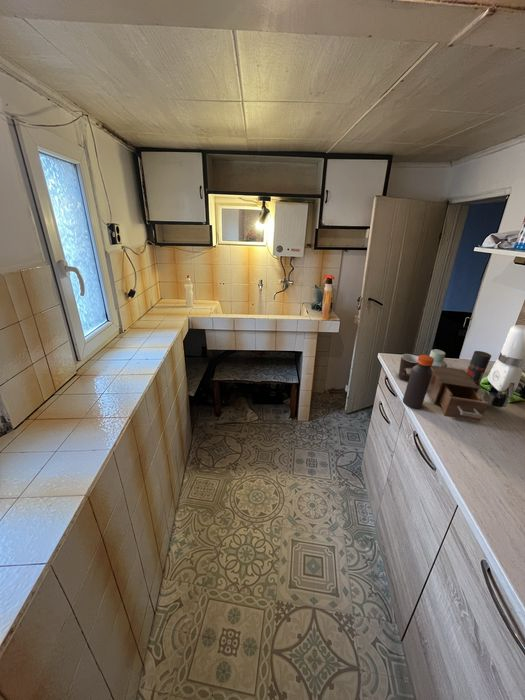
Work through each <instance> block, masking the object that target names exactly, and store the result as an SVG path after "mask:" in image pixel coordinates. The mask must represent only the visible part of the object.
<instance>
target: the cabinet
mask: <svg viewBox="0 0 525 700" xmlns="http://www.w3.org/2000/svg"><path fill="white" fill-rule="evenodd" d="M430 368H431V370H432V371H433V374H432V377H431V380H430V383H429V386H428V389H427V392H428V395H429V397H430V399H431V400H432V402H433V404H434V405H440V406H441V404H440V403H439V401H438V398H439V396H440V393H441V390H442V387H443V385H449V386H456V387H462V388H469V389H474V390H475V391H476V393H477V394H479V390H480V387H479V386H477V385H476V383H475V382H474V381H473V380H472V379H471V378H470V376H469V375H468V374H467V373H466V372H467V371H466V370H465V369H460V368H454V367H447V368H446V367H439V366H431V367H430Z"/></svg>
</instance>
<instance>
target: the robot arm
mask: <svg viewBox="0 0 525 700" xmlns="http://www.w3.org/2000/svg"><path fill="white" fill-rule="evenodd" d="M524 368H525V324H514V325H512V326H511V327H510V328H509V331H508V333H507V336H506V338H505V341H504V342H503V346H502V348H501V351H500V353H499V355H498V358H496V361H494V364H493V365H492V367H491V368H490V371H489V373H488V376H487V381H488V382H489V384H490V385H489V388H488V389H489V390H488V392H496V393H498V395H497V397H495V399H494V401H493V404H492V405H491V406H492V407H496V408H504V407H503V405H504V403H505V400H506V399H513V398H514V393H515V392H516V391H517V388H518V386H519V383H520V382H521V378H522V375H523V371H524ZM502 393H503V394H502Z"/></svg>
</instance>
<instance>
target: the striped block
mask: <svg viewBox="0 0 525 700" xmlns="http://www.w3.org/2000/svg"><path fill="white" fill-rule="evenodd" d="M502 394H504V392H502ZM497 395H498V393H496V392H489V391H488V390H487V391H485V392H484V395H483V397H482V401H485V402H487V403H488V405H487V406H493V405H492V404H493V401H494V399H495V397H497ZM509 400H510V398H508V399H506V400H505V403H504V405H503V407H502V408H506V407H507V405H508V403H509Z"/></svg>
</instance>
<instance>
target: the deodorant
mask: <svg viewBox="0 0 525 700" xmlns="http://www.w3.org/2000/svg"><path fill="white" fill-rule="evenodd" d="M491 358H492V355H491V354H490V353H488V352H485V351H481V350H474V351H473V354H472V357H471V359H470V362H469V364H468V367H467V370H466V371H465V372H466V373H467V374H468V375H469V376H470V378H471V379H472V380H473V381H474V382H475V383H476V385H477V386H478V387H479V386H480V384H481V382H482V379H483V377H484V374H485V372H486V370H487V368H488V365H489V362H490V360H491Z"/></svg>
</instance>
